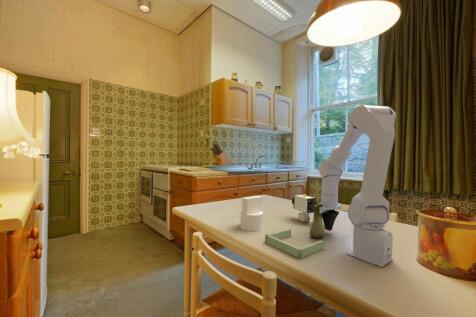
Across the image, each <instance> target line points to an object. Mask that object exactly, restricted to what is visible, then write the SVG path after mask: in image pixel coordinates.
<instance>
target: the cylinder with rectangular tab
mask: <svg viewBox="0 0 476 317" xmlns="http://www.w3.org/2000/svg"><path fill="white" fill-rule="evenodd" d="M239 226H240V229H242V230H244V231H249V232H257V231H261V230H263V229H264V211H263V196H261V195H253V196H246V197H241V211H240V225H239Z"/></svg>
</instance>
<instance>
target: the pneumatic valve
mask: <svg viewBox="0 0 476 317" xmlns="http://www.w3.org/2000/svg"><path fill="white" fill-rule="evenodd" d="M291 204H292V205H293V209H294V210H297V211H299V212H298V213H297V214H298V215H297V217H298V221H300V222H303V223H306V222H308V221H309V222H310V220H311V216H310V214H314V205H316V204H319V203H318V201H317V198H316V197H314V196H309V195H307V194H306V193H303V194H294V195H293V197H292V199H291Z"/></svg>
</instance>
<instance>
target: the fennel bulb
mask: <svg viewBox="0 0 476 317" xmlns="http://www.w3.org/2000/svg"><path fill="white" fill-rule="evenodd" d="M322 205H323V204H320V203H318V204H316V205H314V213H313V219H312V222H311V226H310V229H309V236H310V237H311V238H313V239H322V238H324V236H325V234H326V229H325V227H324V222H323V219H322V213H321V214H319V208H320V207H322Z"/></svg>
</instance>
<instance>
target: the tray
mask: <svg viewBox="0 0 476 317" xmlns="http://www.w3.org/2000/svg"><path fill="white" fill-rule="evenodd" d="M264 236H265V237H264V242H265V243H266V244H269V245H271V246H272V247H275V248H277V249H278V250H281V251H282V252H285V253H287V254H289V255H290V256H291V255H292V256H293V257H295V258H298V259H303V258H305V257H308V256H310V255H312V254H315V253H317V252H319V251H322V250H323V249H325V241H324V240H323V239H322V240H320V239H319V240H318V241H315V242H313V243H312V242H311V243H310V244H307V245H304V246H302V247H298V246H295V245H293V244H290V243H289V242H286V241H284V240H282V239H285V238H288V237H292V228H285V229H283V230H279V231H274V232H272V233H268V234H267V233H266V234H264Z"/></svg>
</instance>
